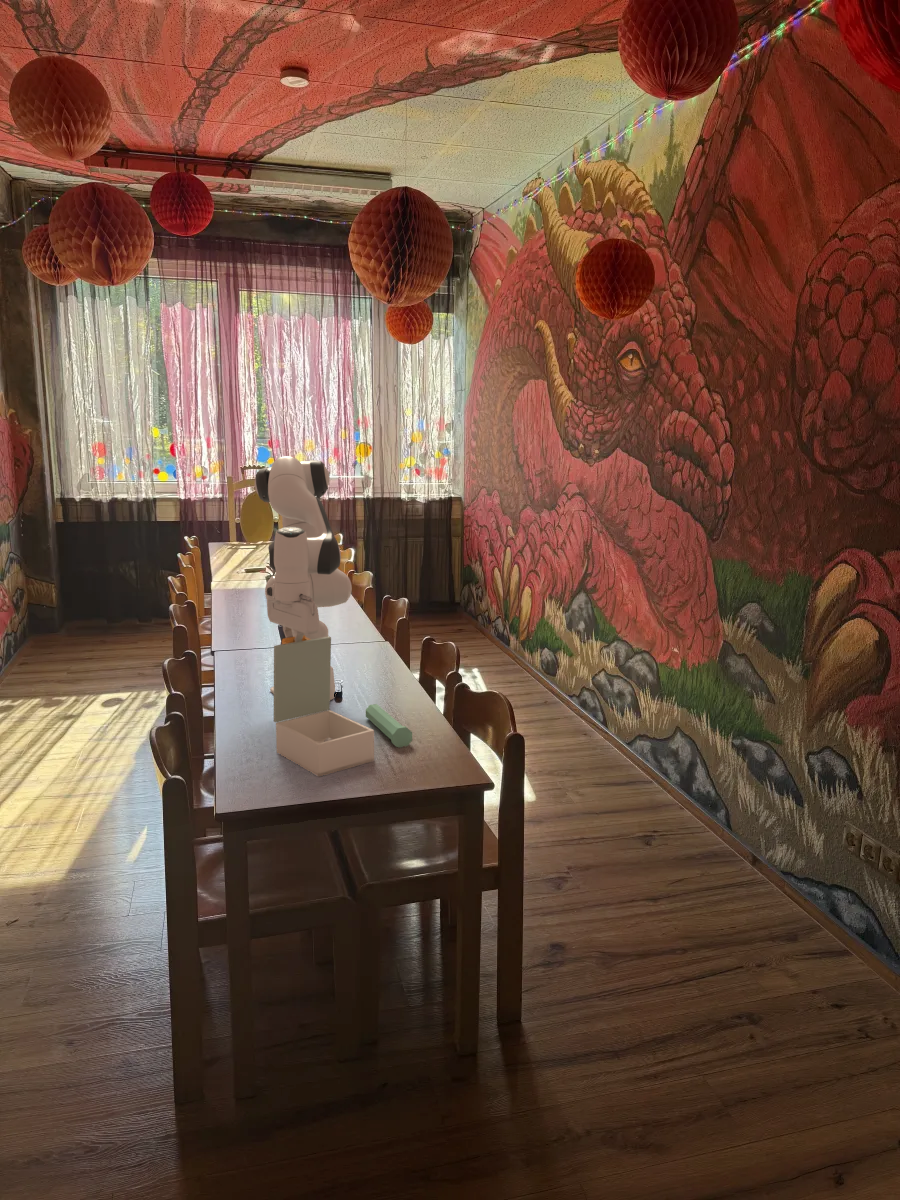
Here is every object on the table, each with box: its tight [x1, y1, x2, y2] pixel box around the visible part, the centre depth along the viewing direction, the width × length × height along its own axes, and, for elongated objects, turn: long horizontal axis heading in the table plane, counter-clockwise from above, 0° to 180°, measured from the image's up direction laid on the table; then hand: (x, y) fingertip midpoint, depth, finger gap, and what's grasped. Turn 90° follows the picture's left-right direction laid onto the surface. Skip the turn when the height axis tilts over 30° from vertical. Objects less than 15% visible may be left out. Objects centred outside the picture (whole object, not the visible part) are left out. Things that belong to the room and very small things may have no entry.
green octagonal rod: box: [365, 703, 413, 748], centre depth 234 cm, size 6×6×25 cm
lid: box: [273, 635, 332, 723], centre depth 222 cm, size 20×16×6 cm
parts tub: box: [275, 709, 375, 778], centre depth 215 cm, size 20×16×8 cm
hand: (293, 644), depth 222 cm, fingers open, 2 cm apart
